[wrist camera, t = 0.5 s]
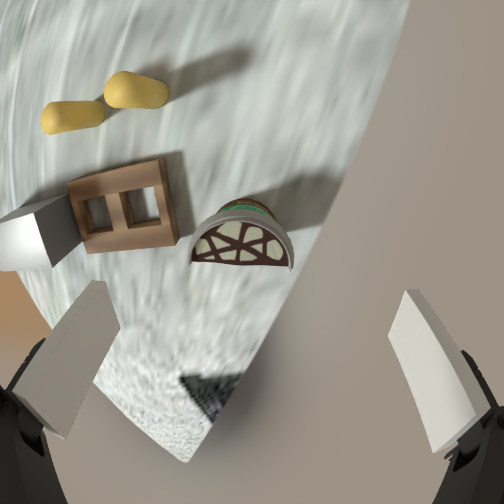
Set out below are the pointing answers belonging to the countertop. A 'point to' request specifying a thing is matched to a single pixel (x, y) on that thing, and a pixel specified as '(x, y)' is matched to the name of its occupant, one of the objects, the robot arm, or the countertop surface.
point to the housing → (38, 234)
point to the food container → (242, 237)
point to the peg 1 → (71, 116)
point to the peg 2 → (135, 91)
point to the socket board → (125, 208)
